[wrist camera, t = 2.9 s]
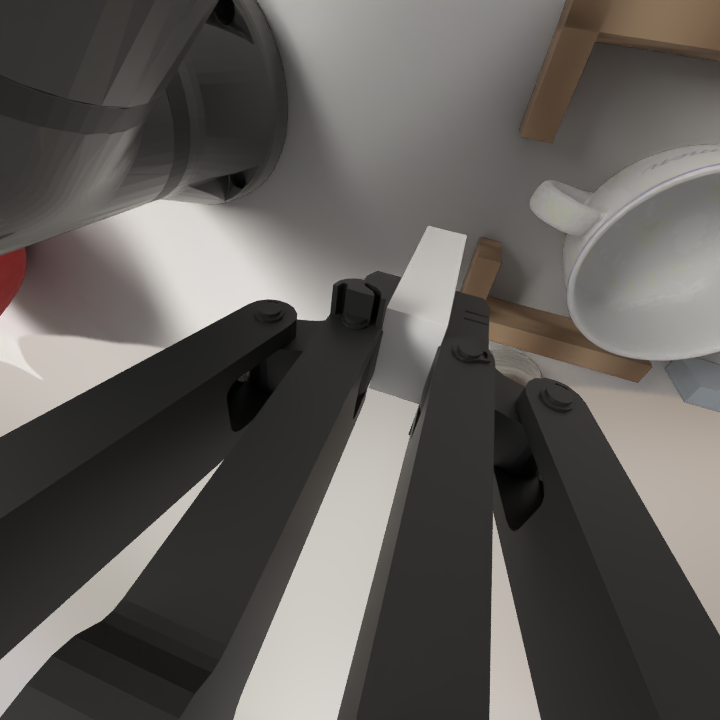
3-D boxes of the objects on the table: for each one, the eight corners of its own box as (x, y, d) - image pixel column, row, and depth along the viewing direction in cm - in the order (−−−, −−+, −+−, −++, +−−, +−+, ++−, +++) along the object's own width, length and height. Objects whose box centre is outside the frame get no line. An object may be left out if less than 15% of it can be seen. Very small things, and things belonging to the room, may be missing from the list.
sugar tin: (451, 394, 37) (443, 453, 31) (476, 338, 32) (471, 395, 26) (523, 416, 36) (528, 481, 30) (559, 362, 31) (573, 427, 25)
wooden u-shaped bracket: (455, 305, 31) (450, 329, 28) (568, -7, 19) (582, -24, 16) (623, 351, 29) (637, 382, 26) (875, 37, 17) (959, 27, 14)
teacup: (799, 212, 21) (921, 265, 15) (621, 328, 28) (655, 395, 22) (631, 54, 19) (691, 41, 13) (485, 220, 26) (481, 261, 20)
